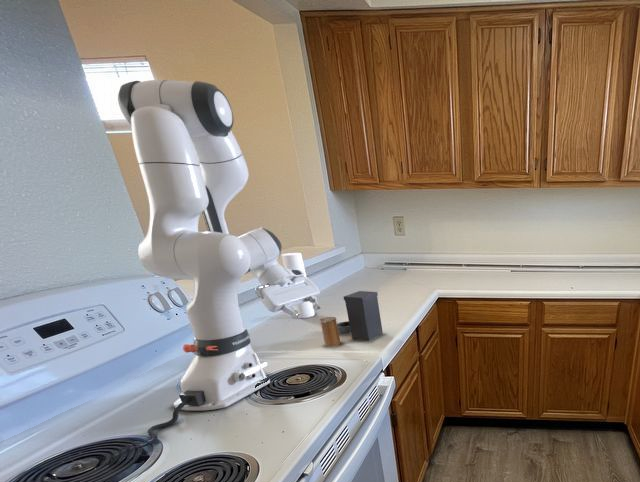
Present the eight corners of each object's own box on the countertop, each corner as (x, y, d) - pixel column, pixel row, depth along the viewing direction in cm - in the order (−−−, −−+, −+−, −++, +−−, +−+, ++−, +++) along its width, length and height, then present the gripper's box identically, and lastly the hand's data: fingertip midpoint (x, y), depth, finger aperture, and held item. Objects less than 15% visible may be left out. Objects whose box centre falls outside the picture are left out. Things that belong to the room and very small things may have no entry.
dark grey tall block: (369, 342, 140) (361, 297, 134) (351, 340, 143) (343, 296, 136) (383, 334, 147) (377, 291, 141) (366, 332, 150) (359, 290, 144)
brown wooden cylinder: (337, 347, 136) (331, 321, 132) (322, 347, 136) (316, 321, 133) (344, 342, 141) (339, 316, 137) (329, 342, 141) (323, 316, 138)
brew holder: (353, 335, 148) (351, 327, 146) (333, 335, 148) (332, 327, 147) (361, 328, 154) (359, 321, 153) (342, 328, 155) (340, 321, 154)
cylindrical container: (307, 318, 170) (293, 255, 160) (292, 317, 171) (277, 255, 161) (318, 313, 176) (305, 252, 166) (303, 313, 178) (289, 252, 168)
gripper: (254, 281, 125) (287, 314, 126) (305, 269, 143) (333, 299, 143) (247, 295, 128) (279, 327, 129) (297, 281, 146) (325, 310, 147)
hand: (308, 312), depth 136 cm, fingers open, 8 cm apart
